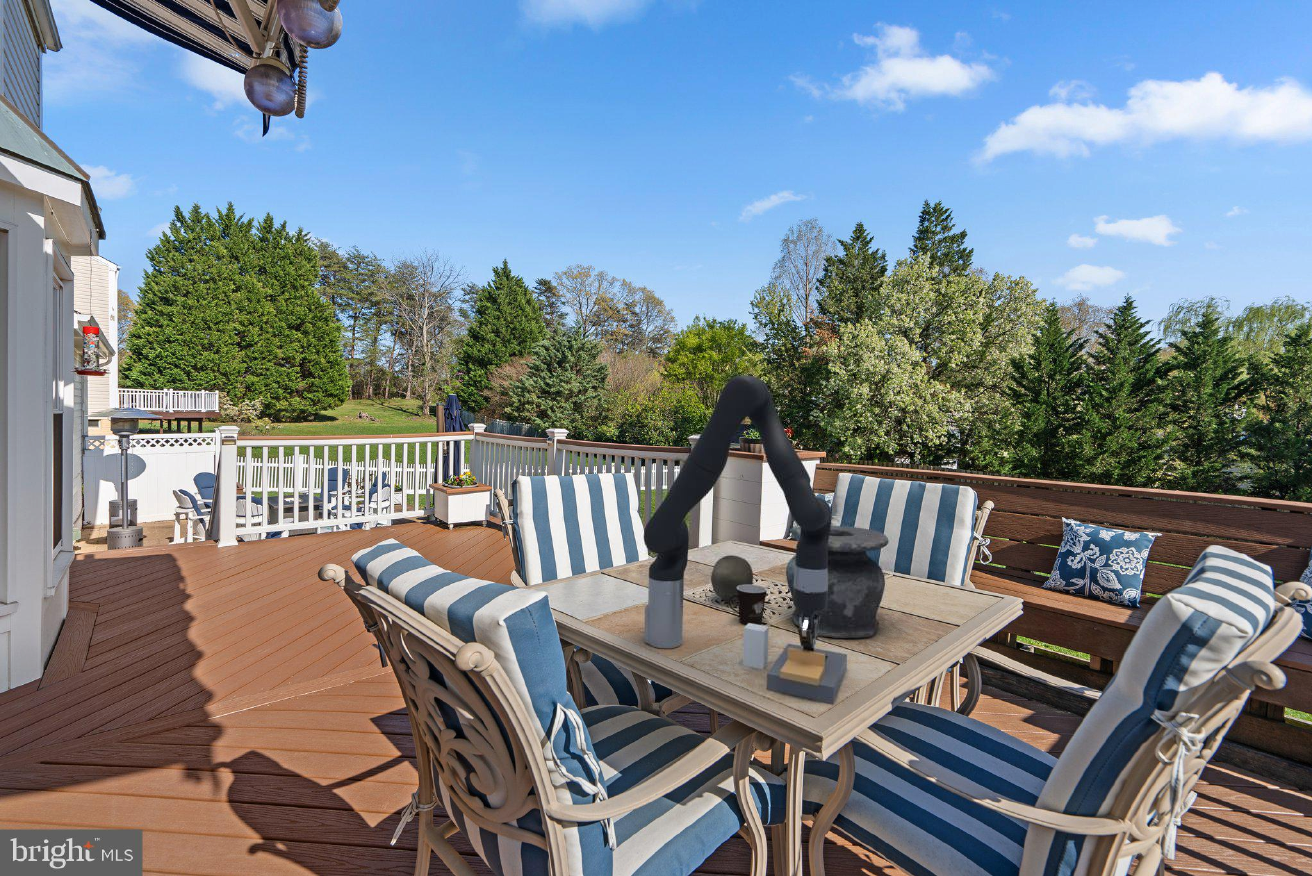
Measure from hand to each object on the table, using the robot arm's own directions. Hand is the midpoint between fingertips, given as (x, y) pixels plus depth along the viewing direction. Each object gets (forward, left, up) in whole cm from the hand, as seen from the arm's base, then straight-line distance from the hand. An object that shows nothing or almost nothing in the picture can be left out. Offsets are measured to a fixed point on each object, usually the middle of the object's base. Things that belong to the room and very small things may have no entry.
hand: (808, 661), depth 132 cm
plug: (-13, +2, -4) cm, 14 cm away
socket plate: (0, 0, -4) cm, 4 cm away
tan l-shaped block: (0, -7, 0) cm, 7 cm away
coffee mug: (-24, +30, -4) cm, 39 cm away
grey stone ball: (-34, +47, -4) cm, 58 cm away
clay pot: (-1, +41, -4) cm, 42 cm away
